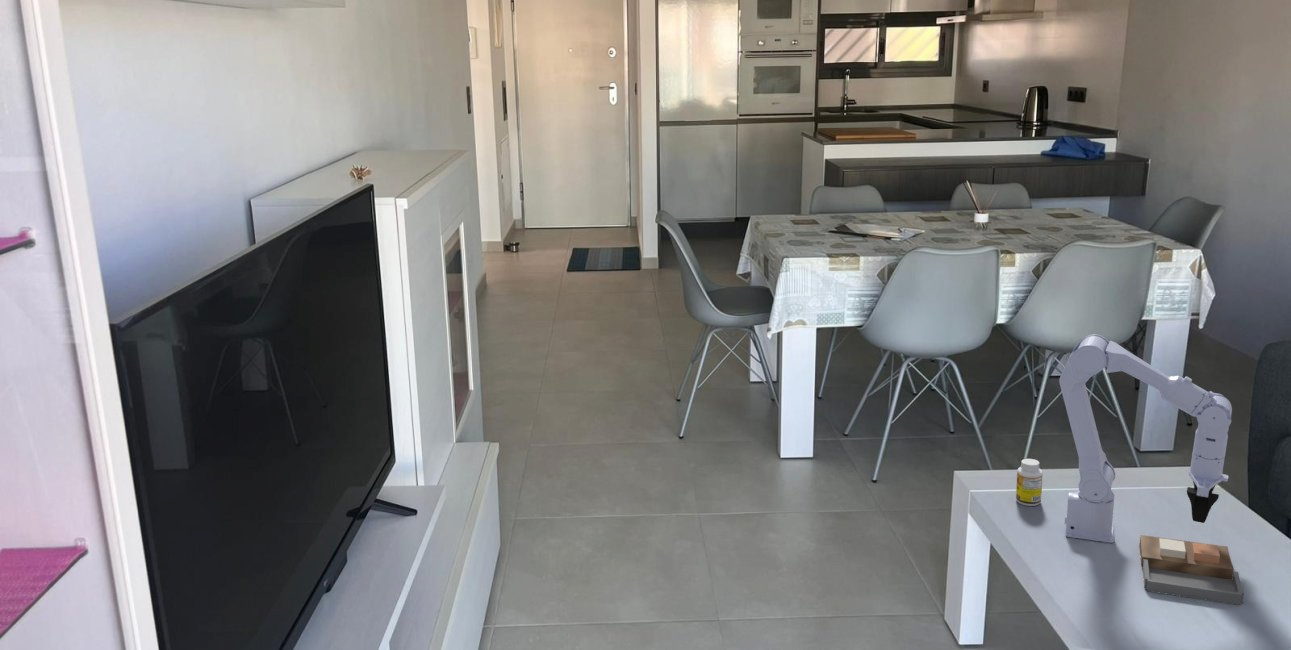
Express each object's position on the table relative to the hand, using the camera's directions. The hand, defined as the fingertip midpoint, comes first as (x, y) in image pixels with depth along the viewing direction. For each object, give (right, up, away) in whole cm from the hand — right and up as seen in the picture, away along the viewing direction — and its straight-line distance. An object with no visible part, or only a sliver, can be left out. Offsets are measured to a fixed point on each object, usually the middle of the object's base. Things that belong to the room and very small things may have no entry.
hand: (1199, 512), depth 201 cm
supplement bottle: (-25, -3, +28) cm, 37 cm away
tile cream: (-8, -7, -3) cm, 11 cm away
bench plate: (-5, -10, -3) cm, 11 cm away
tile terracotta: (-2, -8, -5) cm, 10 cm away
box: (-8, -12, -11) cm, 18 cm away
